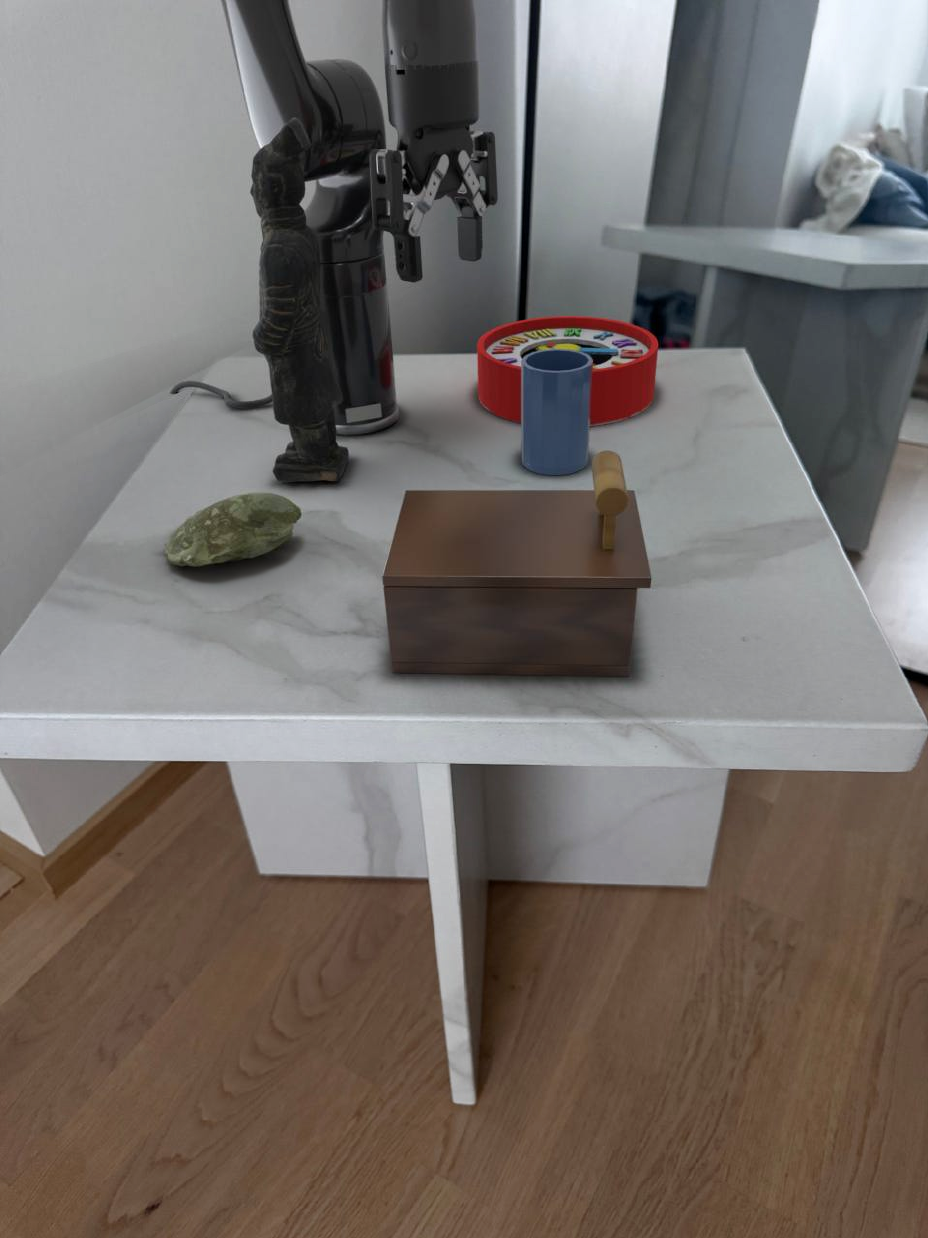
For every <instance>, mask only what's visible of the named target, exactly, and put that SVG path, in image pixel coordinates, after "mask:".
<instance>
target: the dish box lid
mask: <svg viewBox="0 0 928 1238" xmlns="http://www.w3.org/2000/svg"><path fill="white" fill-rule="evenodd" d="M590 466H591V475H592V484H593V489H457V490H456V489H453V490H452V489H443V490H442V489H438V490H437V489H435V490H434V489H427V490H426V489H423V490H422V489H414V490H413V489H410V490H409V489H408V490H405V493H404V496H403V499H402V503H401V507H400V510H399V514H398V518H397V521H396V525H395V527H394V528H395V529H394V532H393V536H392V539H391V543H390V547H389V550H388V553H387V556H386V557H387V558H386V560H385V564H384V568H383V571H382V576H381V578H382V585H383V587H384V586H432V587H555V588H637V589H651V587H652V581H653V580H652V579H653V577H652V572H651V568H650V562H649V558H648V553H647V547H646V542H645V537H644V532H643V527H642V522H641V517H640V512H639V506H638V501H637V495H636V492H635V490H634V489H627V484H626V478H625V471H624V467H623V462H622V458H621V456H620V454H618V453H617V452H615V451H613V450H607V449H606V450H602V451H599V452H598V453H596V454H595V455H594V456H593V458H592V460H591V464H590Z"/></svg>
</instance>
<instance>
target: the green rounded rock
mask: <svg viewBox="0 0 928 1238" xmlns="http://www.w3.org/2000/svg"><path fill="white" fill-rule="evenodd" d="M302 516H303V515H302V509H301V507H300V506H298V505H297V504H295V503H294V502H293V501H292V500H291V499H289V498H287V497H285V496H284V495H281V494H277V493H274V492H266V491H265V492H263V491H261V492H249V493H246V494H245V493H244V494H237V495H234V496H231V497H227V498H225V499H221V500H219V501H217V502H215V503H212V504H211V505H209V506H207V507H205V508H203V509H200V510H198V511H197V512H196V513H194V514H193V515H191V516H189V517H188V518H187V519H186V520H185V521H184V522H183V523H182V524H180V526H179V527H177V529H175V531H174V532H172V534H171V535H170V537H169V539H168V540H167V541H165V543H164V548H165V549H164V555H165V556H166V557H167V559H168V562H169V563H170V564H171V565H174V566H179V567H185V566H189V567H203V566H207V565H211V564H218V563H219V564H220V563H221V564H222V563H226V562H228V561H229V562H230V561H231V562H235V561H241V560H246V559H253V558H256V557H259V556H264V555H268V554H269V553H270V552H272V551H273V550H276V549H277V548H278V547H279V546H281V545H282V544H284V543H285V542H287V541H288V540H290V539H291V538H292V536H293V534H294V532H293V530H294V526H295V524H297V523H298V521H300V519H301V517H302Z"/></svg>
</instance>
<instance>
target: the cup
mask: <svg viewBox="0 0 928 1238" xmlns="http://www.w3.org/2000/svg"><path fill="white" fill-rule="evenodd" d="M592 370H593V359H592V358H591V357H590V356H589V355H587V354H585V353H583V352H580V351H575V350H569V349H548V350H541V351H536V352H532V353H530V354H528V355H526V356H524V357H523V359H522V360H521V423H520V456H521V464H522V466H523V467H524V468H525V469H527V470H528V471H530V472H533V473H535V474H539V475H544V476H564V475H569V474H570V475H571V474H574V473H578V472H580V471H581V470H583V469H584V468H585V467H586V466H587V464H588V458H589V447H590V429H591V428H590V427H591V426H590V410H591V390H592Z"/></svg>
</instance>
